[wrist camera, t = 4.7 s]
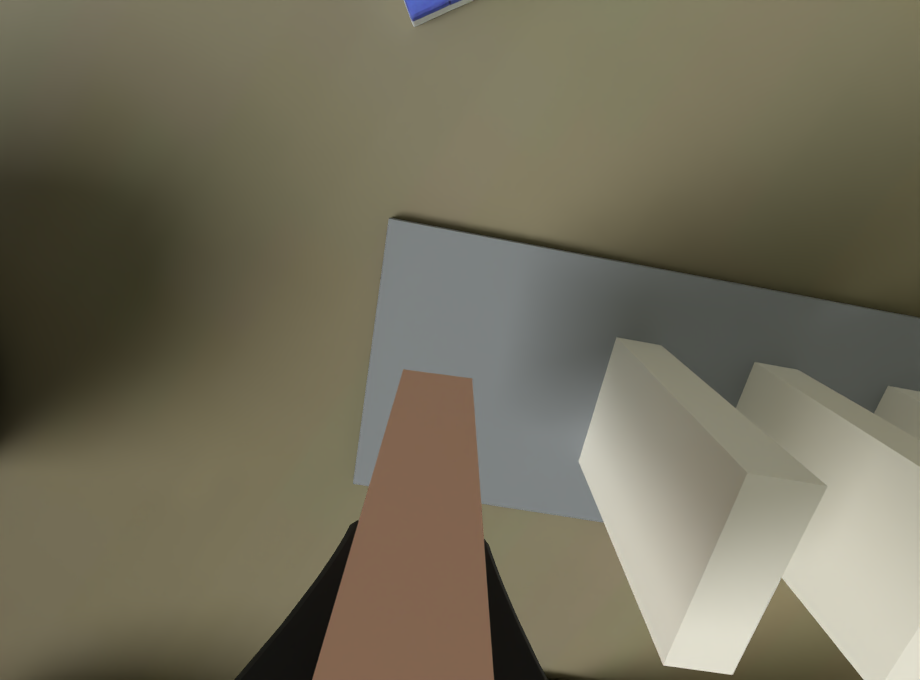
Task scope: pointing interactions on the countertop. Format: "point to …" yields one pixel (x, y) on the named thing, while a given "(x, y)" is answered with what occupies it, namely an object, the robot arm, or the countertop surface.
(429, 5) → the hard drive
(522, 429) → the domino mat
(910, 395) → the domino
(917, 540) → the domino
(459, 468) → the salmon orange end domino
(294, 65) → the countertop surface
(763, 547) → the domino
